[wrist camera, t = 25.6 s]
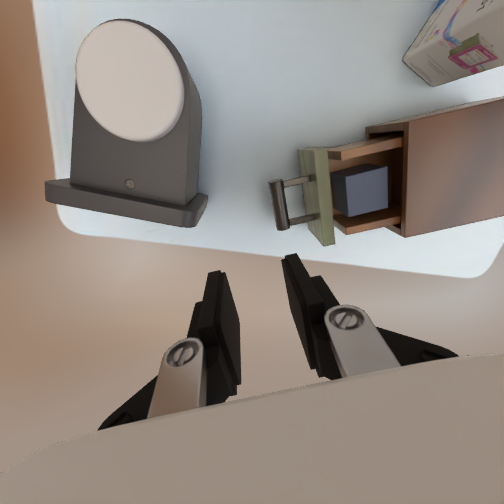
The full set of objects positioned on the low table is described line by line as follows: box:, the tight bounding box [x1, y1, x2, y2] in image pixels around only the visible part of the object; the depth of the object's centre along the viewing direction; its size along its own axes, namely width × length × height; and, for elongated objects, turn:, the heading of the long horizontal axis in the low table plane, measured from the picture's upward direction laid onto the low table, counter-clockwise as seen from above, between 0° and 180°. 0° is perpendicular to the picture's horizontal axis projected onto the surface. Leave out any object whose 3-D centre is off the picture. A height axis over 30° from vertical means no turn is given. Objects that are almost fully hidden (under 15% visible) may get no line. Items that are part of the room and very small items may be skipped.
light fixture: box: [45, 19, 208, 228], centre depth 21 cm, size 11×13×11 cm
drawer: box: [268, 132, 404, 246], centre depth 26 cm, size 14×9×6 cm, turn 102°
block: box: [330, 164, 388, 217], centre depth 26 cm, size 4×4×4 cm
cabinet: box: [366, 96, 504, 238], centre depth 25 cm, size 11×10×7 cm
